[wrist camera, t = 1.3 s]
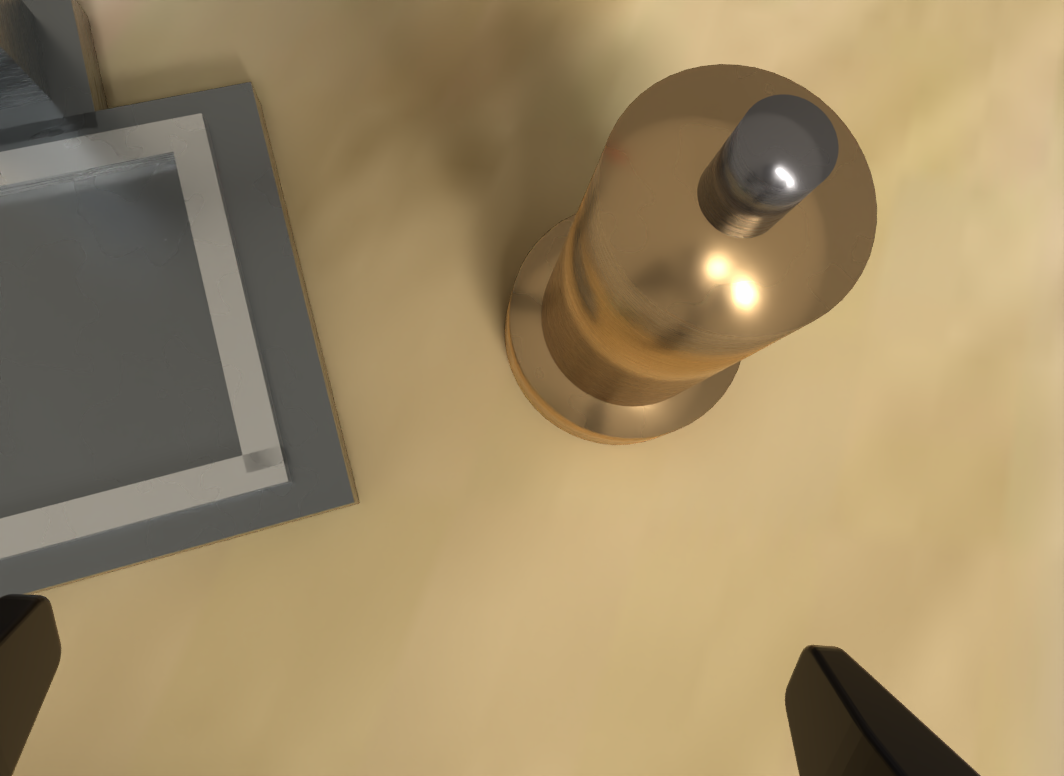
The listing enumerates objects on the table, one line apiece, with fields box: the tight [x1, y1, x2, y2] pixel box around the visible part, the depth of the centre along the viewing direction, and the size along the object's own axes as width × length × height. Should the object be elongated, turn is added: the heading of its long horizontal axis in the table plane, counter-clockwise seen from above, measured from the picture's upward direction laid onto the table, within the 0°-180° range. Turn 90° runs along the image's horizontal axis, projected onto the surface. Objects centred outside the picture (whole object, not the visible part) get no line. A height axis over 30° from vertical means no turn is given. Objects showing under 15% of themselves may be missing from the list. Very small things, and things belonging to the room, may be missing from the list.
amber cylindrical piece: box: [505, 64, 877, 445], centre depth 18 cm, size 7×7×12 cm
